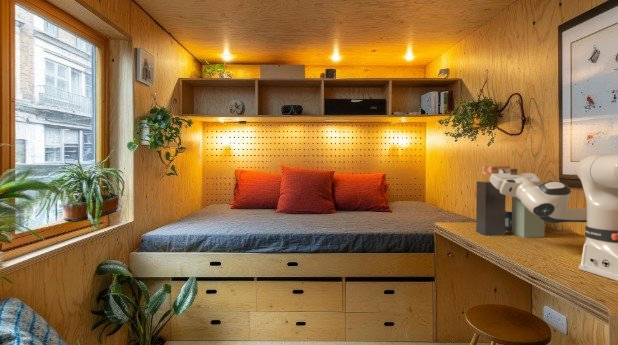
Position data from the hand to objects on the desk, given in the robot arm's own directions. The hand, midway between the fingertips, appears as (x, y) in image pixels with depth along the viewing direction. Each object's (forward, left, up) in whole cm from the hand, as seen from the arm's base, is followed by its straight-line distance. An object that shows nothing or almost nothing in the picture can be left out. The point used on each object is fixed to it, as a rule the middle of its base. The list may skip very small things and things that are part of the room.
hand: (505, 170), depth 163 cm
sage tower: (+7, -16, -32) cm, 37 cm away
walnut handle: (+4, 0, -2) cm, 4 cm away
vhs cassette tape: (+21, -11, -32) cm, 40 cm away
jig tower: (+13, 0, -32) cm, 35 cm away
